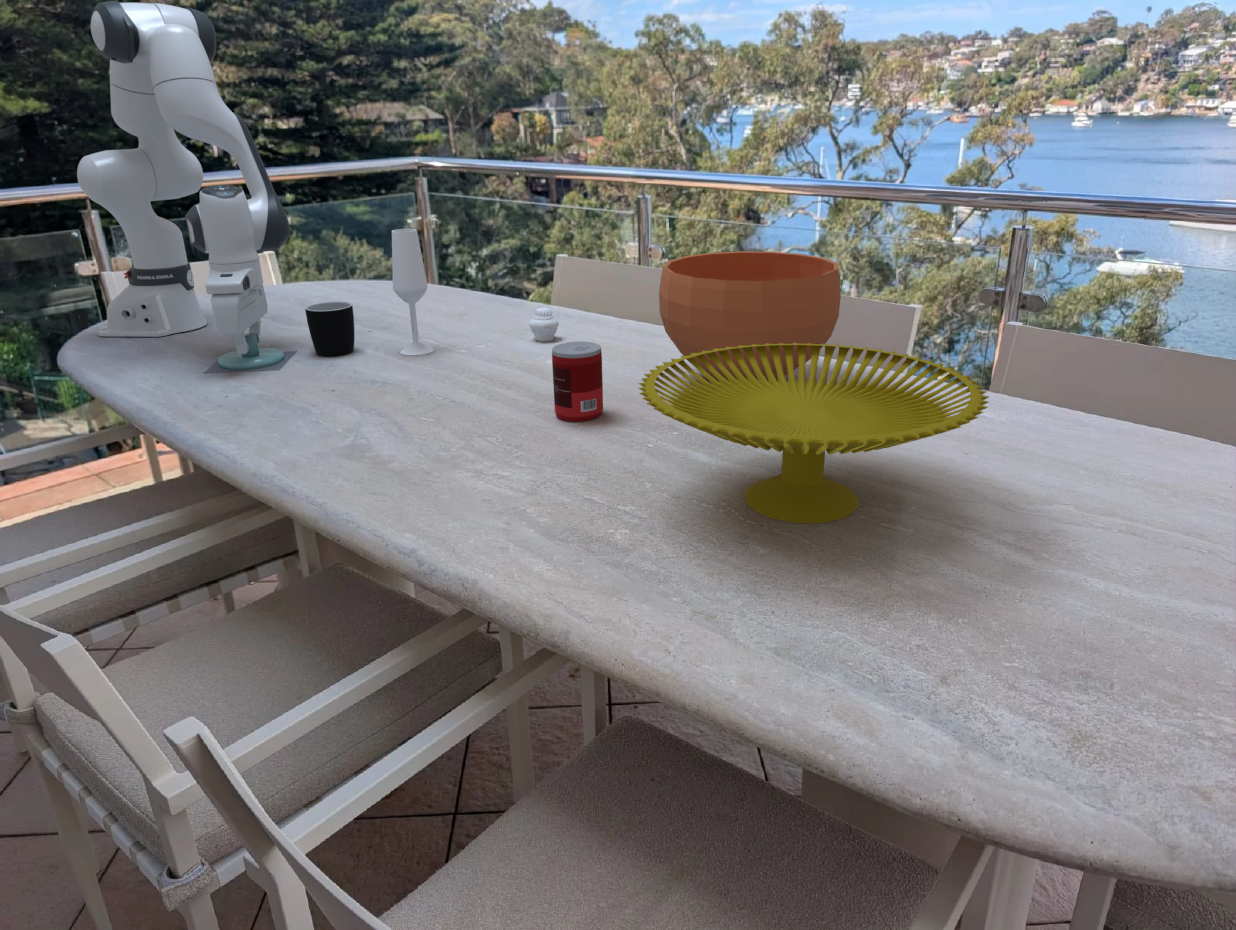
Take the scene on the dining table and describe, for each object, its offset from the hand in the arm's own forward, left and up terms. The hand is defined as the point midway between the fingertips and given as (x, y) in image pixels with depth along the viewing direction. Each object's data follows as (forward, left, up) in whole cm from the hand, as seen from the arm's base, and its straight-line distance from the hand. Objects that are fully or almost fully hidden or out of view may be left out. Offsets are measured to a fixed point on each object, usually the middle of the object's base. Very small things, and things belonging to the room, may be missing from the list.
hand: (249, 347), depth 176 cm
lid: (0, 0, -3) cm, 3 cm away
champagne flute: (+31, +6, -4) cm, 32 cm away
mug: (+14, +6, -4) cm, 16 cm away
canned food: (+62, -39, -4) cm, 73 cm away
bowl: (+92, -26, -4) cm, 96 cm away
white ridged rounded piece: (+57, +11, -4) cm, 58 cm away
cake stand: (+88, -76, -4) cm, 116 cm away
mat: (0, 0, -4) cm, 4 cm away
